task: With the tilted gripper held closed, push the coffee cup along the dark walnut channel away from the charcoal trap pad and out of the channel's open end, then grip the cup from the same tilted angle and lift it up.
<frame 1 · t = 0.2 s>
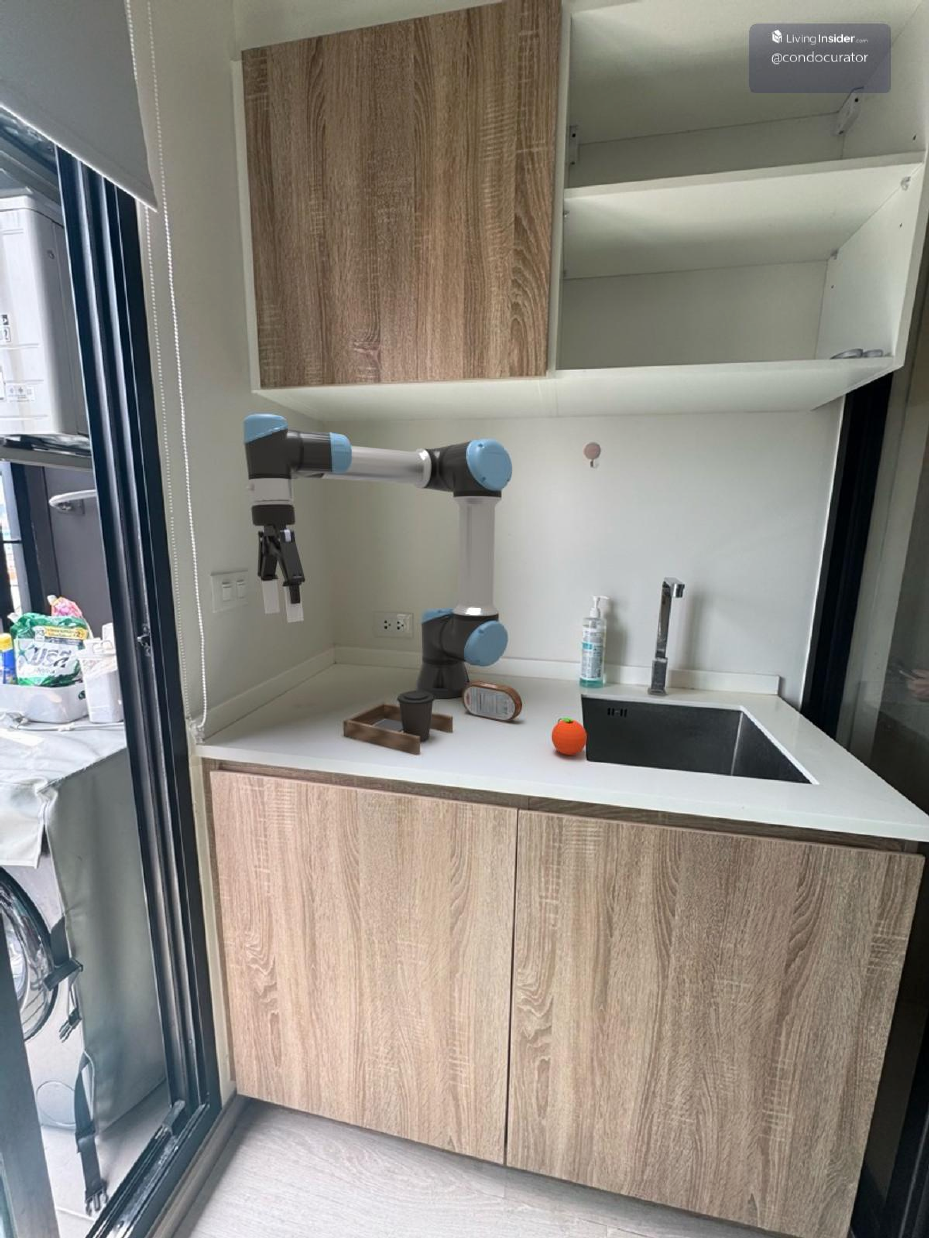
hand: (283, 617, 101), 27 cm above the worktop, tool pointing down, fingers open, 13 cm apart
channel: (423, 739, 111), on the worktop
tin: (490, 718, 125), on the worktop
clementine: (566, 753, 106), on the worktop
trap pad: (384, 729, 116), resting in channel
coffee cup: (416, 738, 112), on the worktop
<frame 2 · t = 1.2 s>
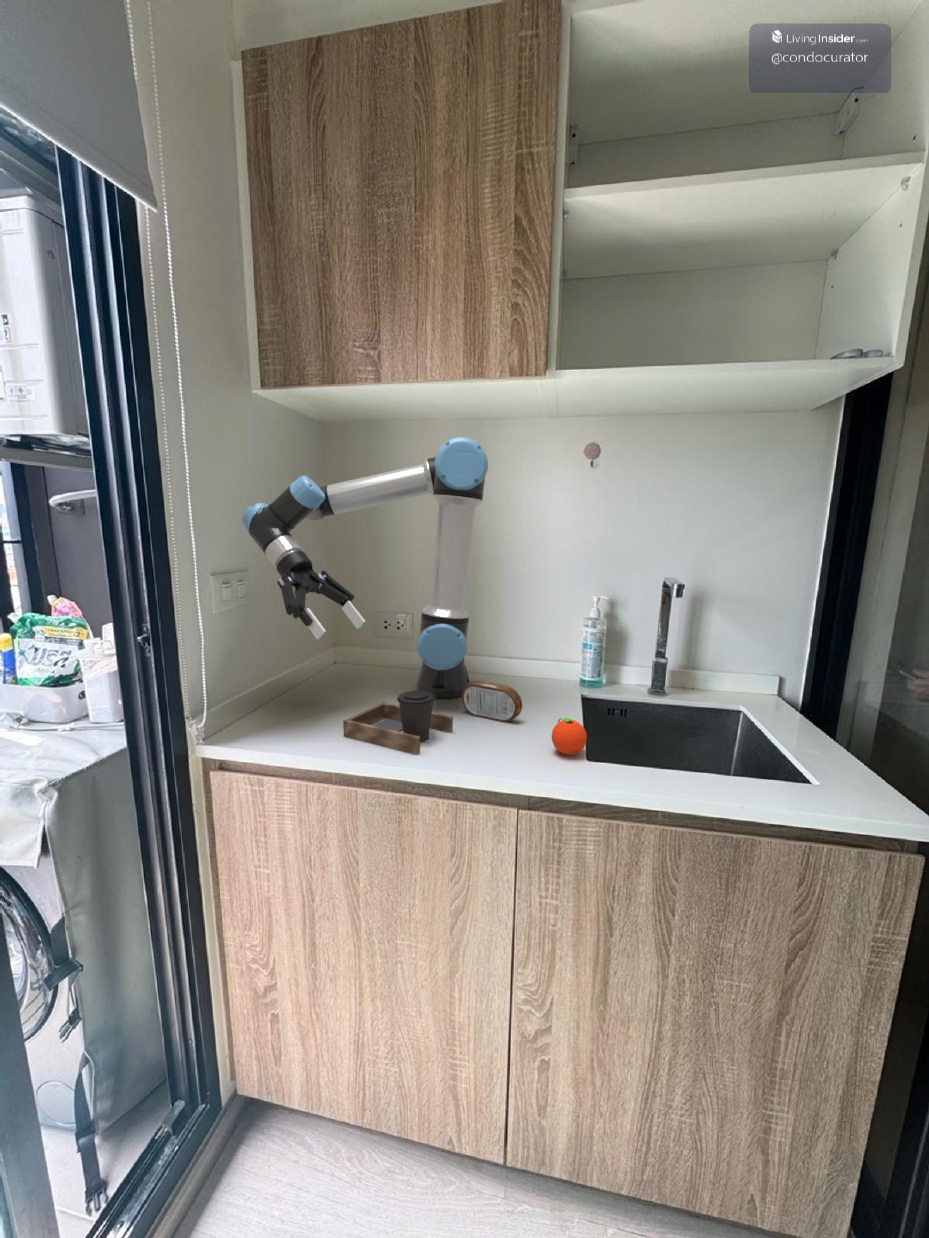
hand: (342, 630, 118), 22 cm above the worktop, tool tilted 45°, fingers open, 13 cm apart
nothing on the worktop moved.
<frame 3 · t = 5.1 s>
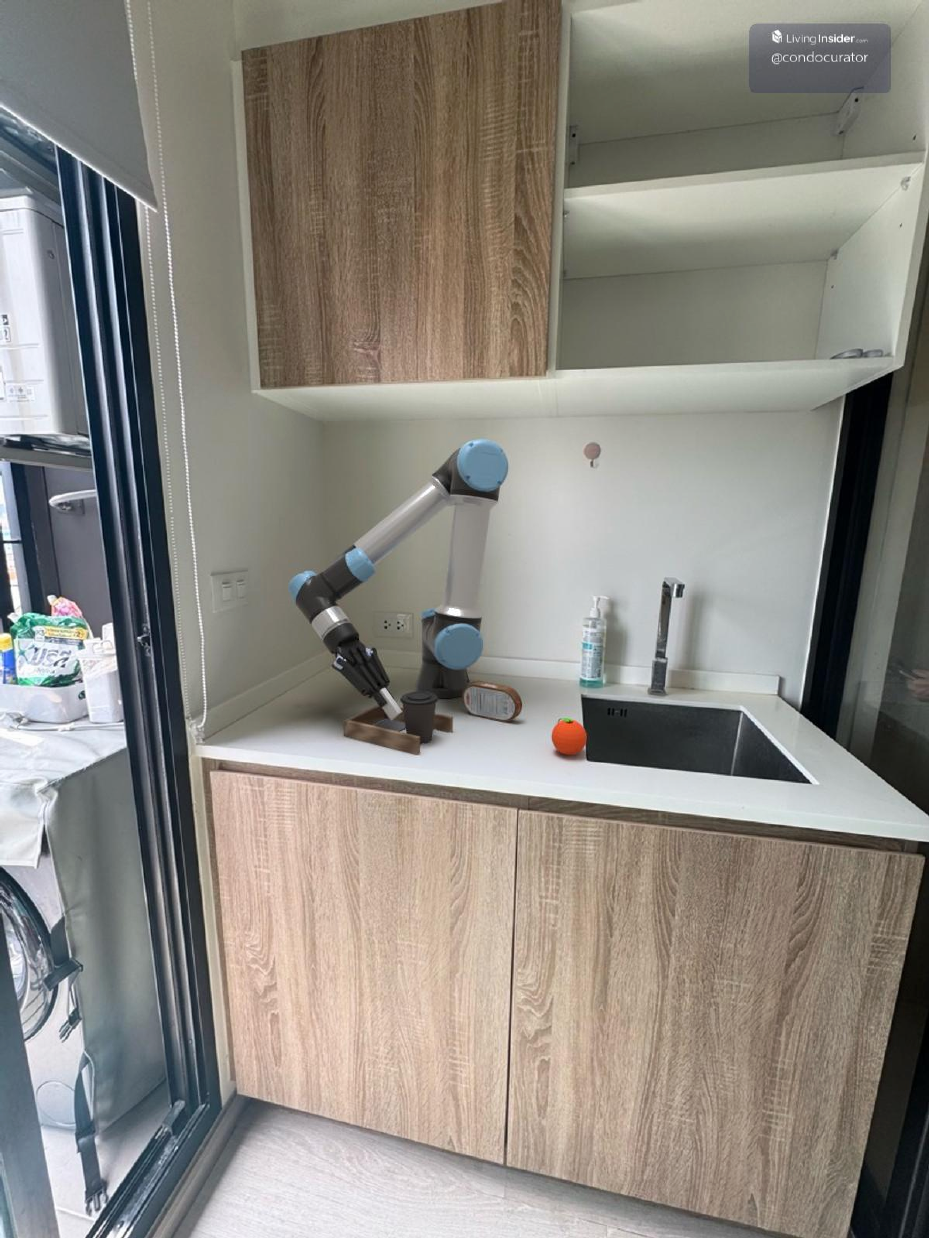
hand: (396, 716, 113), 4 cm above the worktop, tool tilted 45°, fingers closed
coffee cup: (419, 739, 112), on the worktop, touching gripper
everything else where it was.
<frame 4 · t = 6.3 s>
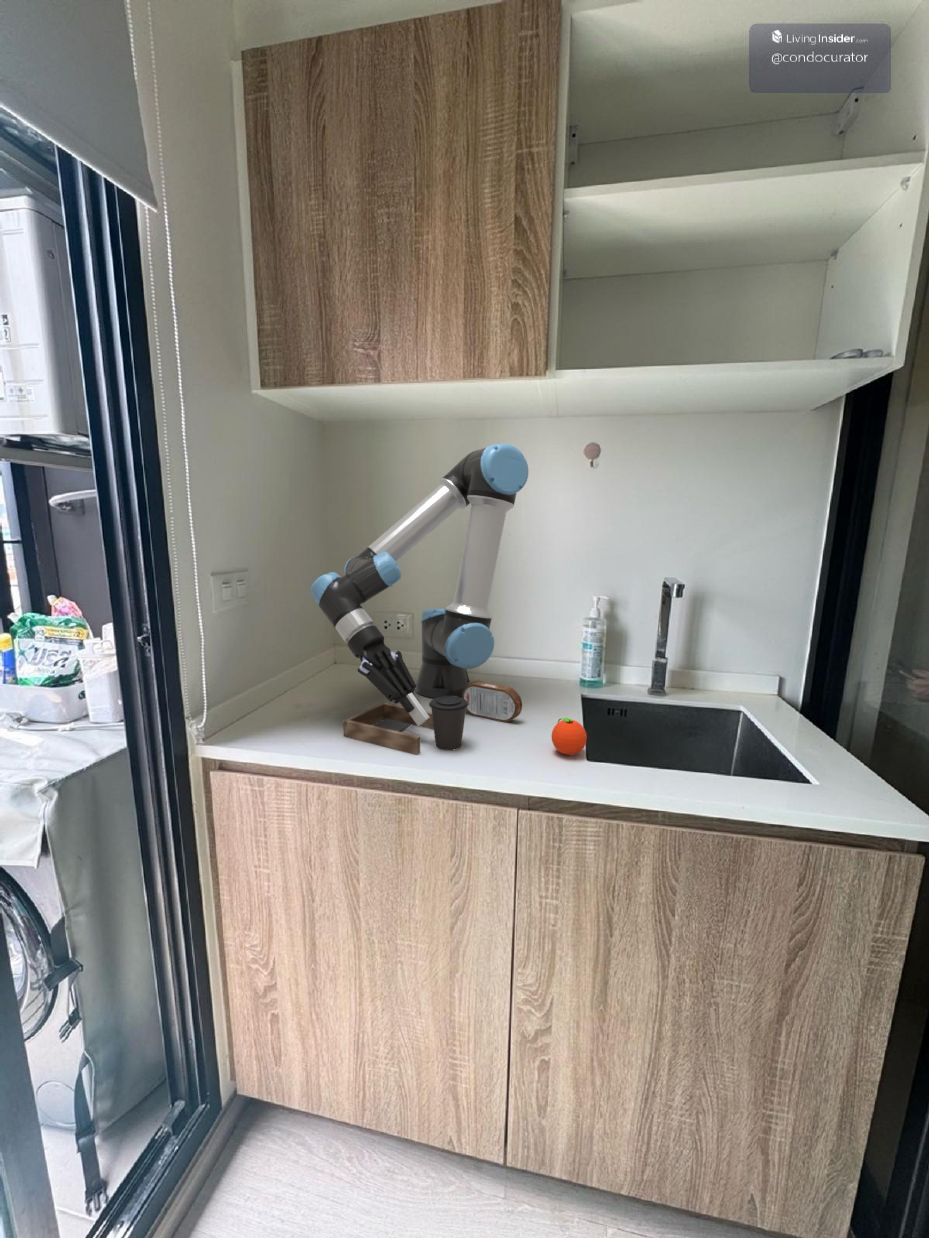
hand: (424, 721, 110), 4 cm above the worktop, tool tilted 45°, fingers closed
coffee cup: (448, 745, 109), on the worktop, touching gripper
everything else where it was.
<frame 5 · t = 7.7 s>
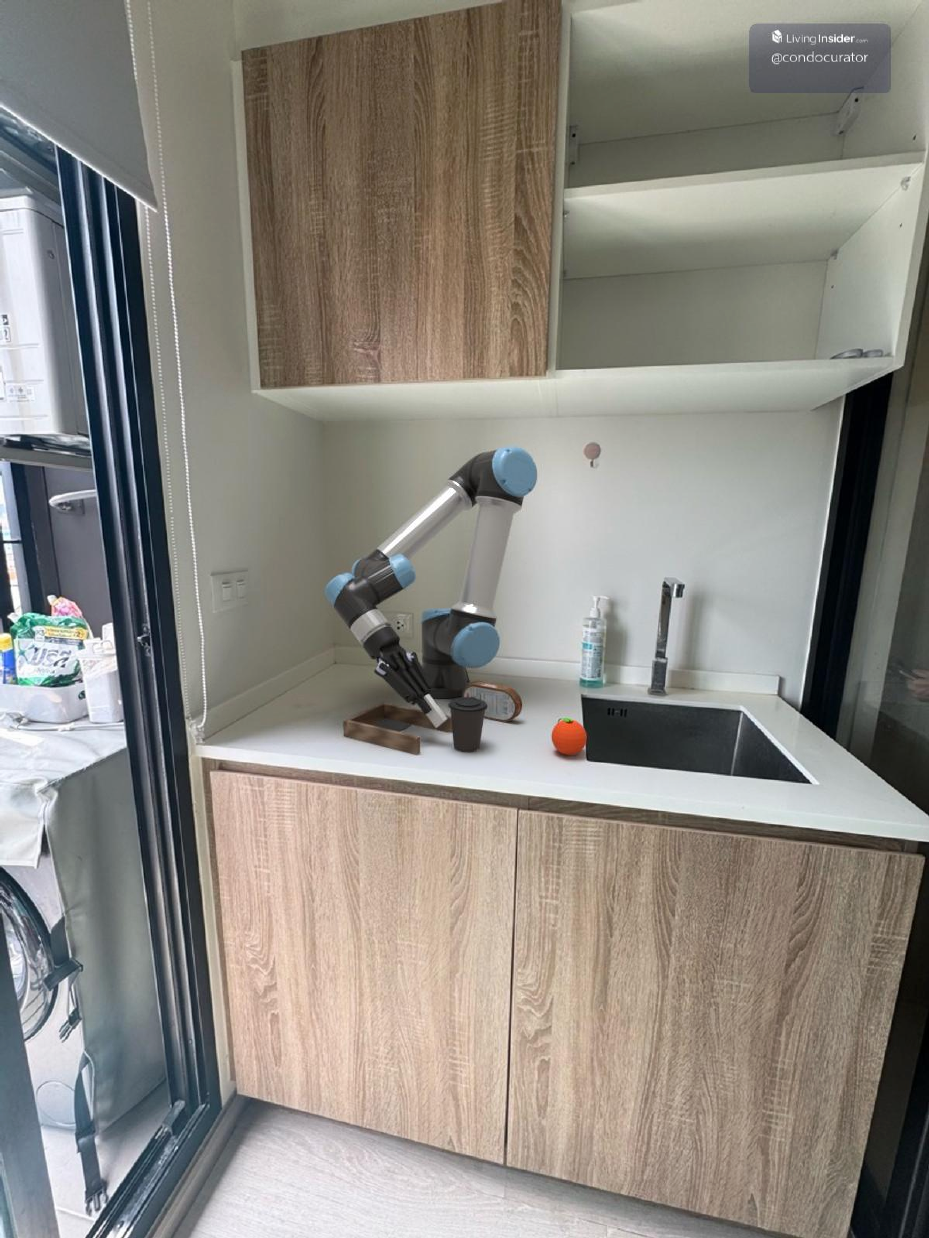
hand: (441, 723, 108), 5 cm above the worktop, tool tilted 45°, fingers closed
coffee cup: (466, 747, 108), on the worktop, touching gripper
everything else where it was.
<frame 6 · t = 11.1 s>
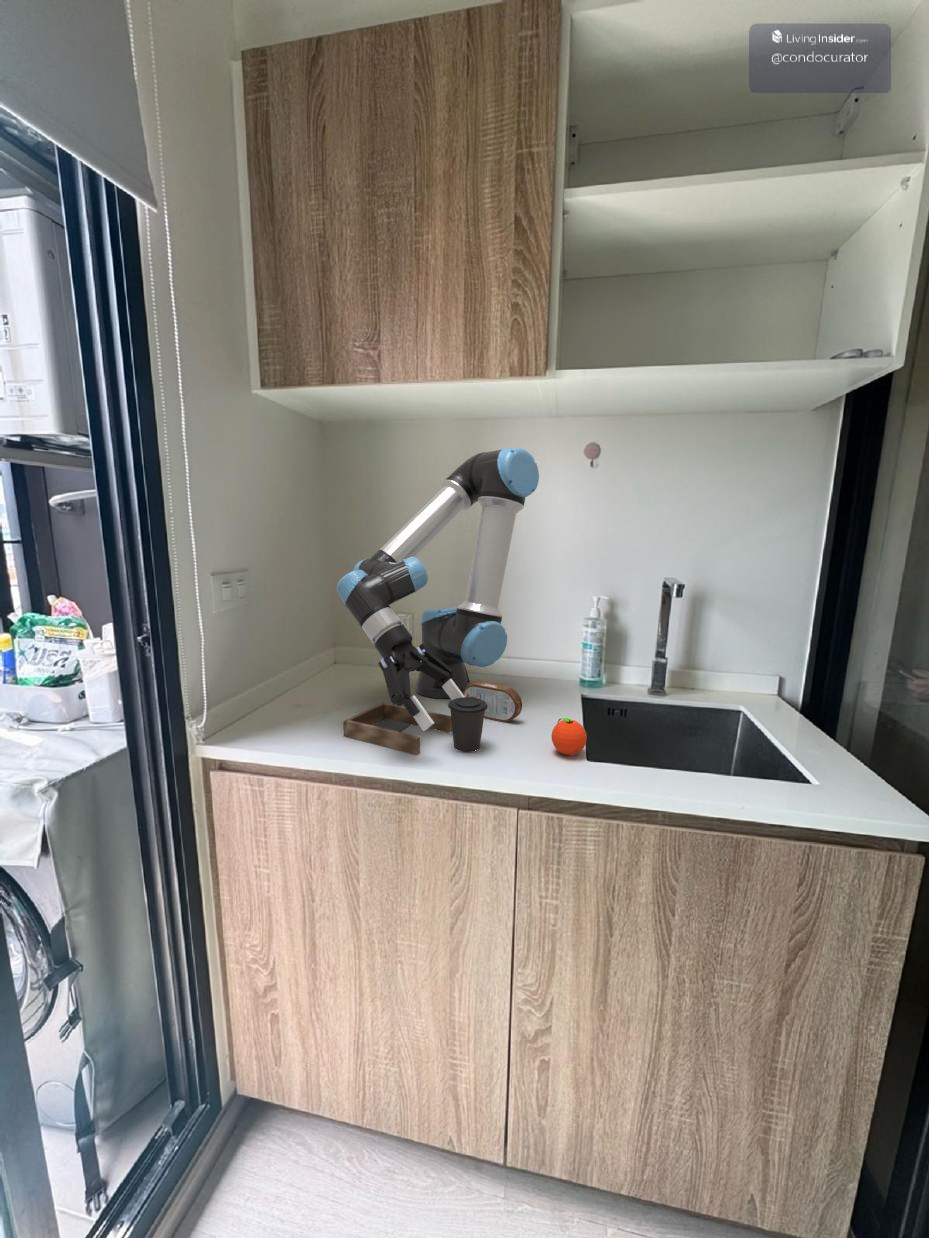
hand: (447, 716, 106), 7 cm above the worktop, tool tilted 45°, fingers open, 13 cm apart
nothing on the worktop moved.
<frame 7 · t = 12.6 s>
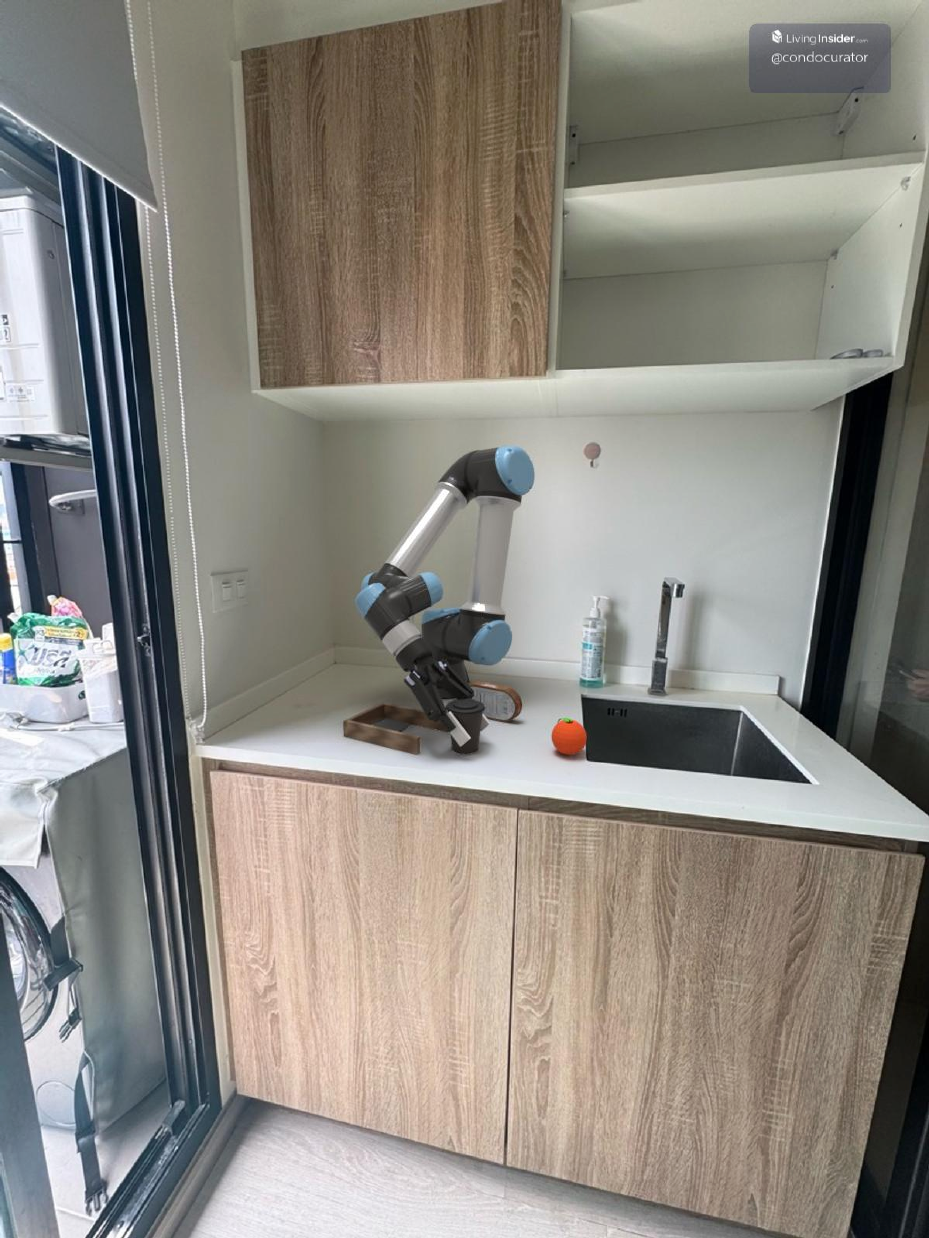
hand: (476, 734, 105), 4 cm above the worktop, tool tilted 45°, fingers closed on coffee cup, 8 cm apart
coffee cup: (465, 749, 107), on the worktop, touching gripper
everything else where it was.
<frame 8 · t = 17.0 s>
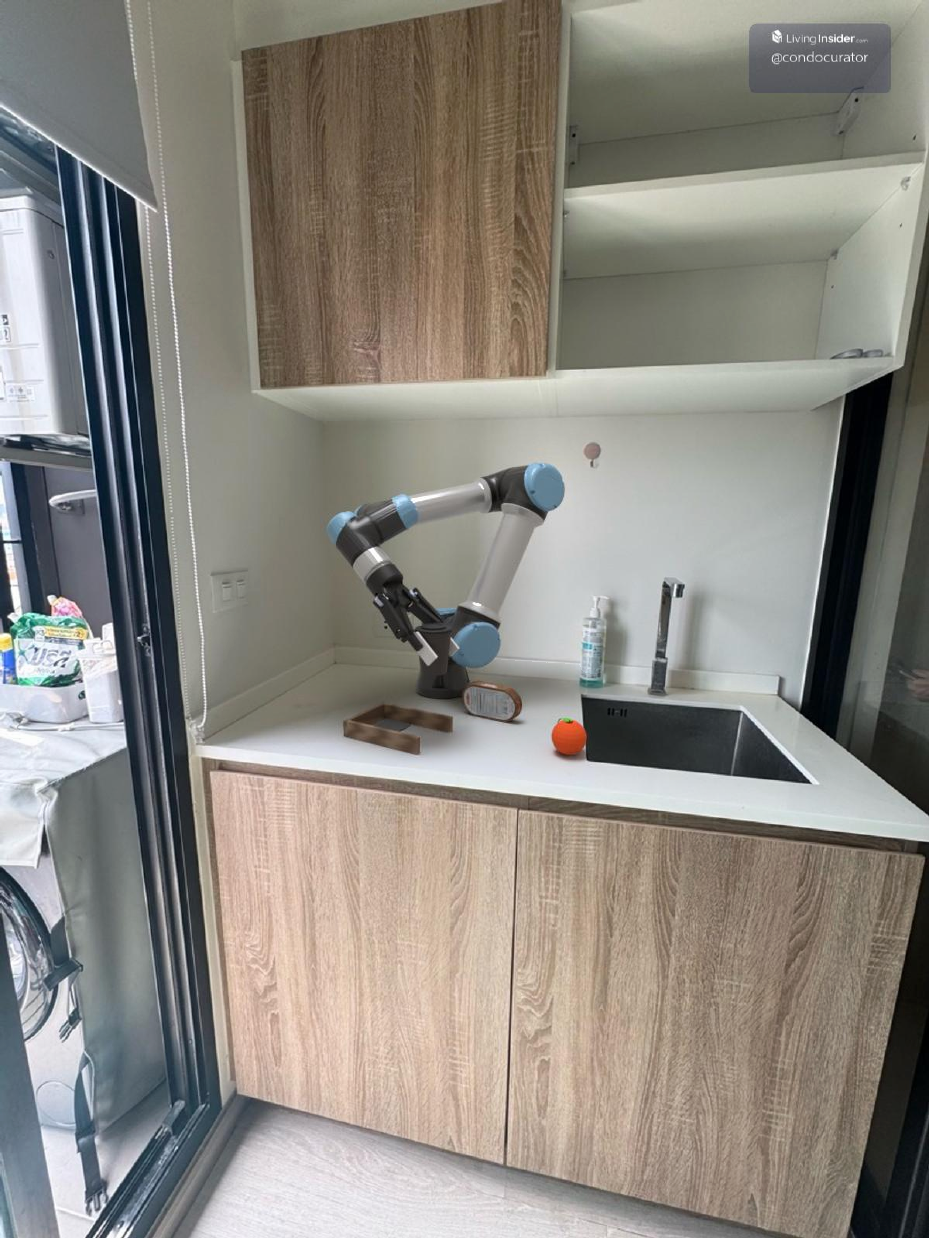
hand: (444, 656, 107), 19 cm above the worktop, tool tilted 45°, fingers closed on coffee cup, 8 cm apart
coffee cup: (433, 672, 108), point 15 cm above the worktop, touching gripper
everything else where it was.
at the end: the gripper is holding coffee cup; coffee cup point 14.8 cm above the worktop; coffee cup inside the target area (0.8 cm from its centre), point 14.8 cm above the worktop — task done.
